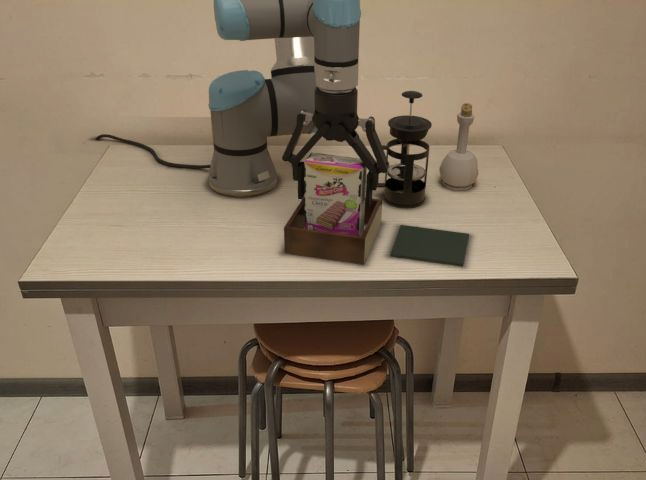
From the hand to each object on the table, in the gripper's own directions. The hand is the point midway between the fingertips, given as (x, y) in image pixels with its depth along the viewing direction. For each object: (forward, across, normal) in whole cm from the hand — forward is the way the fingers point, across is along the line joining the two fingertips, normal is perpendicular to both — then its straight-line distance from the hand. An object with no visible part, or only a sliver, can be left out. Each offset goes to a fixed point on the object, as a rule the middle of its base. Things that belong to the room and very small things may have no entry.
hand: (335, 200), depth 133 cm
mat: (+8, +19, +2) cm, 21 cm away
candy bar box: (+8, 0, 0) cm, 8 cm away
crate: (+8, 0, 0) cm, 8 cm away
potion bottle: (+8, +21, +32) cm, 39 cm away
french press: (+8, +10, +21) cm, 25 cm away
